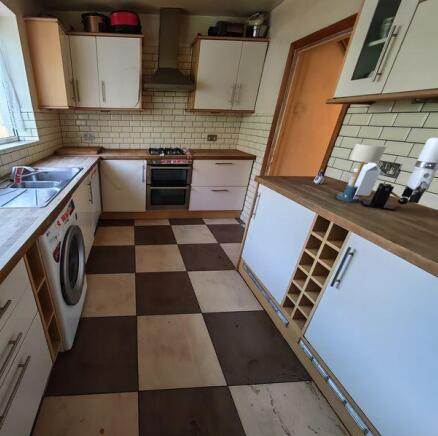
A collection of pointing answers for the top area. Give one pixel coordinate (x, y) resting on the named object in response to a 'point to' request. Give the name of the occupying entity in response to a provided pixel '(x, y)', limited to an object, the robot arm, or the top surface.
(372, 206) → the switch bracket
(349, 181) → the sprinkles bottle
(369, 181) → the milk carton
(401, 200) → the lamp switch
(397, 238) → the top surface
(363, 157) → the table lamp
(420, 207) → the top surface
